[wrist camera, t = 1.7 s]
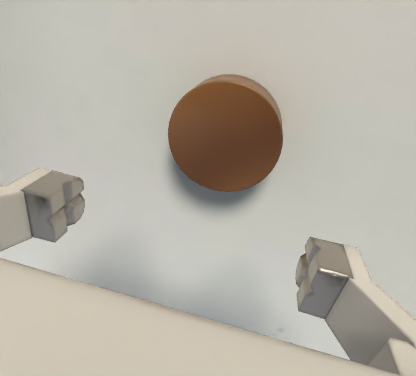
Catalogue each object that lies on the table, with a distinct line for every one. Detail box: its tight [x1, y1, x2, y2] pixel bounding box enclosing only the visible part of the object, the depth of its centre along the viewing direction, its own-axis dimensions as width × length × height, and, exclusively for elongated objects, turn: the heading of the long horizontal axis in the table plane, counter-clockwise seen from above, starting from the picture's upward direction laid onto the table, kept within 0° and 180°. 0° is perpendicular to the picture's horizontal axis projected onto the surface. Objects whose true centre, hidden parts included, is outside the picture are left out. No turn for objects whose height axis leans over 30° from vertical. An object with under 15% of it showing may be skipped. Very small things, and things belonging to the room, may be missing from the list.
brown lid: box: [168, 75, 283, 192], centre depth 18 cm, size 7×7×2 cm
